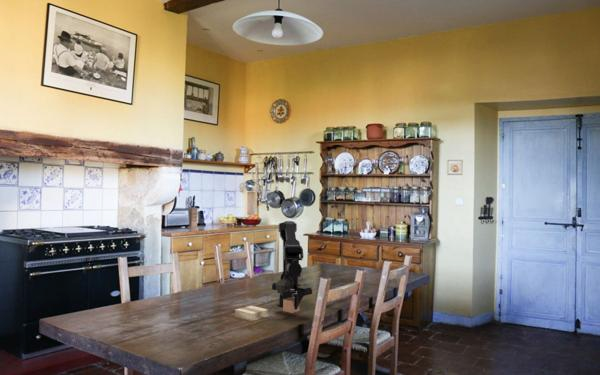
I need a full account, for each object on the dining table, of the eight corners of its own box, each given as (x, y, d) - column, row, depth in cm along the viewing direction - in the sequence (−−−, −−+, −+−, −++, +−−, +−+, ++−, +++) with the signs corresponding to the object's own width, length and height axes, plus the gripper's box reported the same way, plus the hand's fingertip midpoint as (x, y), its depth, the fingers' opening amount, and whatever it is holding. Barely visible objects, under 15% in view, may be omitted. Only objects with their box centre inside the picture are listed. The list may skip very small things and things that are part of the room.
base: (251, 312, 213) (251, 305, 213) (268, 316, 207) (268, 309, 207) (235, 316, 205) (235, 309, 205) (251, 321, 199) (251, 313, 199)
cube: (290, 308, 213) (290, 297, 213) (299, 310, 209) (299, 299, 209) (283, 310, 209) (283, 299, 209) (291, 312, 206) (292, 301, 206)
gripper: (263, 271, 209) (262, 307, 209) (296, 277, 197) (295, 315, 197) (280, 268, 217) (279, 303, 217) (313, 274, 206) (312, 310, 205)
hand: (291, 308), depth 209 cm, fingers closed on cube, 5 cm apart
